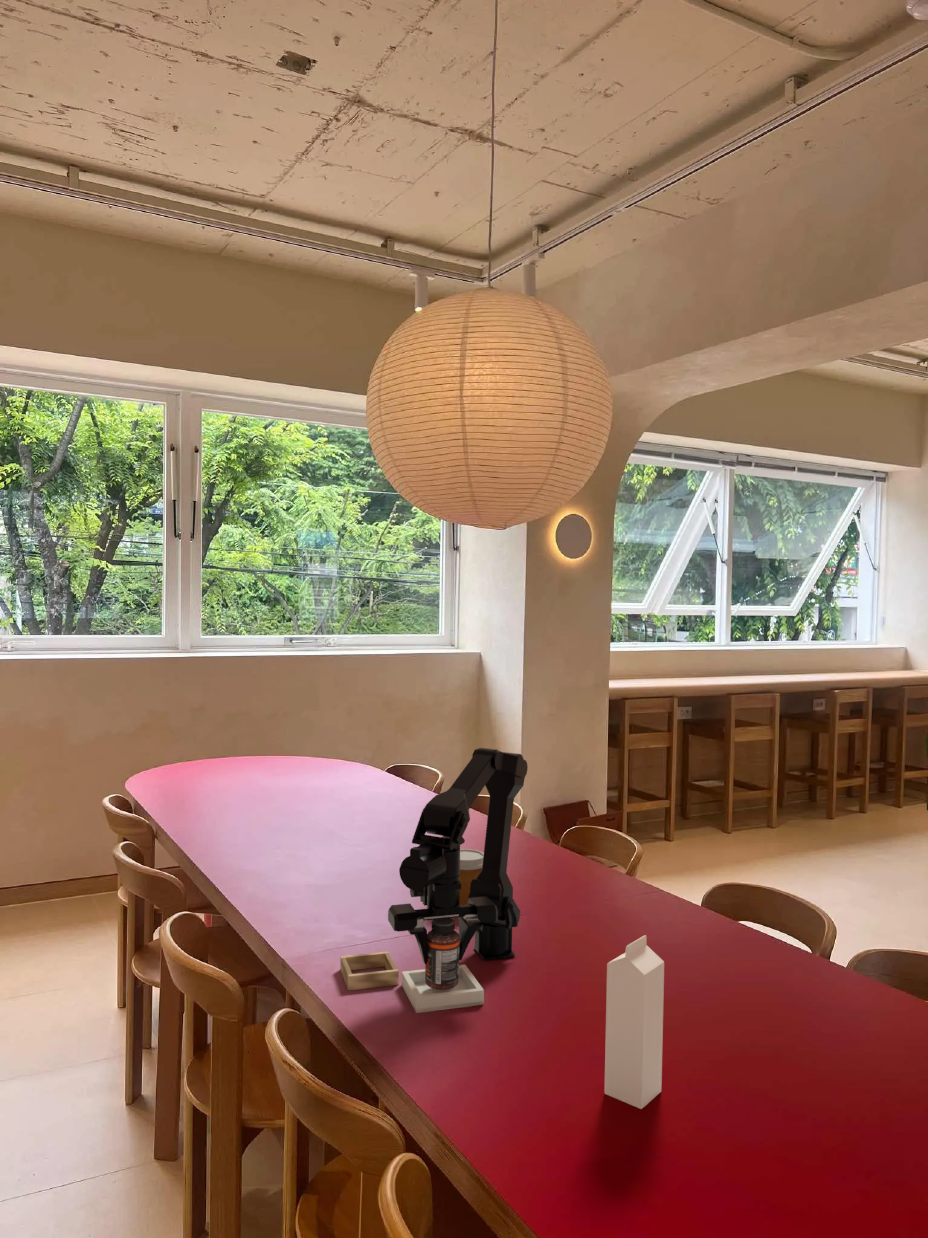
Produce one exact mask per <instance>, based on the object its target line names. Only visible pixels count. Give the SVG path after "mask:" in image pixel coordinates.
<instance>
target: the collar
mask: <svg viewBox="0 0 928 1238" xmlns="http://www.w3.org/2000/svg"><path fill="white" fill-rule="evenodd" d="M339 958H340V959H339V962H340V964H339V967H340V968H339V970H340V972H341V975H342V977H343V980H344V982H345V986H346V988H347V990H348V991H354V990H355V991H356V990H365V989H373V988H379V987H381V988H383V987H391V986H398V985H399V984H400V983H399V976H400V975H399V973H400V971H399V968H398V967H397V965H396V963H395V961H394V960H393V958H392V956H391V954H390V952H389V951H380V952H370V953H369V952H368V953H360V954H351V955H341V956H340V957H339ZM383 967H384V968H385V970H378V971H371V972H370V971H369V972H359V973H352V971H356V970H363V969H364V970H365V969H374V968H383Z"/></svg>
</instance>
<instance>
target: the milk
mask: <svg viewBox="0 0 928 1238" xmlns="http://www.w3.org/2000/svg"><path fill="white" fill-rule="evenodd" d="M664 987H665V961H664V960H663V959H662V958H661V957H660V956H659V955H658V954H657V953H655V951H654V950H652V949H651V948H650V947H649V946H648V945H647V935H646V934H645V935H643V936H641V937H639V938H638V939H636V940H634V941H633V942H630V943H628V944H627V945H626V946H625V952H624V953H622V954H620V955H619V956H617V957H616V958H614V959H612V960H610V961H608V962H607V964H606V998H605V999H606V1001H605V1002H606V1005H605V1010H606V1011H605V1044H604V1045H605V1046H604V1047H605V1049H604V1051H605V1053H604V1054H605V1055H604V1056H605V1057H604V1094H605V1095H607V1096H608V1097H611V1098H614V1099H615V1100H618V1101H620V1102H622V1103H626V1104H628V1105H630V1106H633V1107H635V1108H637V1109H640V1110H642V1109H643V1108H645V1107H646V1106H647V1105H649V1103H651V1101H653V1100H654V1099H655V1098H656V1097H657V1096H658V1095H659V1094H660V1093H662V1081H663V1080H662V1077H663V1070H662V1069H663V1043H664V1042H663V1041H664V1040H663V1039H664V1038H663V1037H664V1035H663V1033H664V1031H663V1030H664V997H665V996H664V992H665V990H664V989H665V988H664Z"/></svg>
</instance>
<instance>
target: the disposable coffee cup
mask: <svg viewBox="0 0 928 1238" xmlns="http://www.w3.org/2000/svg"><path fill="white" fill-rule="evenodd" d="M483 855H484V851H480V850H477V849H470V848H469V849H468V848H467V849H466V848H460V883H461V889H460V900H459V905H467V903H468V898H469V894H470V884H471V882H472V880H473V879H476V878H477V876H478V875H479V874H480V872H481V871H482V865H483Z"/></svg>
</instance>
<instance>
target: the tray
mask: <svg viewBox="0 0 928 1238" xmlns="http://www.w3.org/2000/svg"><path fill="white" fill-rule="evenodd" d="M401 987H402V989H403V990H404V993H405V995H406V996H407V999H408V1000H409V1002H410V1004H411V1006H412V1008H413V1010H414V1012H415V1013H416V1014H418V1013H428V1012H435V1011H436V1012H438V1011H442V1010H445V1011H446V1010H450V1009H452V1010H453V1009H458V1008H459V1009H460V1008H468V1007H473V1006H475V1007H476V1006H483V1005H485V989H484V988H483V987H482V985H481V984H480V983H479V982H478V980H477V978H476V977H475V976H474V974H473V973H472V972H471V970H470V969H469V968H468V966H467V965H466V964H459V979H458V984H457V985H456V986H455V987H454V988H452V989H448V990H436V989H433V988H430V987H429V986H428V985H427V984H426V982H425V968H424V969H415V970H406V971H404V970H403V971H401Z"/></svg>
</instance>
